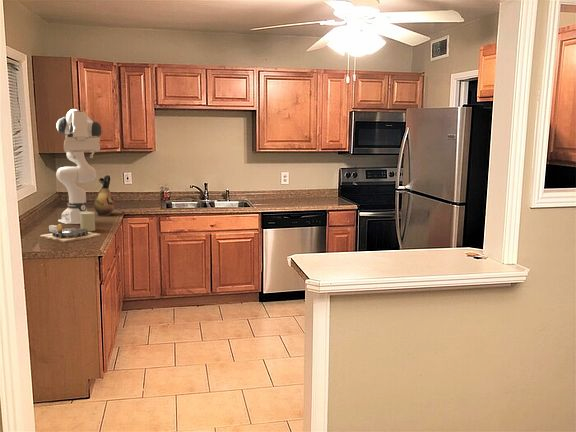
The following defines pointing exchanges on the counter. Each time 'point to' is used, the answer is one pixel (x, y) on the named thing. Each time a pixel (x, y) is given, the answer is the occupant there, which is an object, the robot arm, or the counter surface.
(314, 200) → the counter surface
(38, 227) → the counter surface
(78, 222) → the robot arm
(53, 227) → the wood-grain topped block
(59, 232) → the sprocket
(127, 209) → the counter surface
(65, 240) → the plate
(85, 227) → the can
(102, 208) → the ceramic jug
